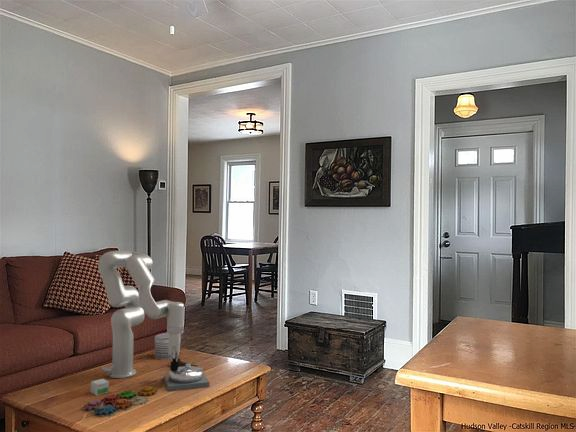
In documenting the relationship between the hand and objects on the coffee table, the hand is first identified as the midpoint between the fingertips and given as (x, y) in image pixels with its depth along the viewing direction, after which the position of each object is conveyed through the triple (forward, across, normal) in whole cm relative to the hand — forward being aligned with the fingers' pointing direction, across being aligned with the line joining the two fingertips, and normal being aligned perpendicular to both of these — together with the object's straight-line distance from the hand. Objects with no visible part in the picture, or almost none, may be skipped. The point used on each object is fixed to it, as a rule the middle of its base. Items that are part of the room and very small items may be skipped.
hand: (174, 368), depth 216 cm
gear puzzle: (+7, +21, -18) cm, 29 cm away
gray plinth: (+6, +1, +5) cm, 8 cm away
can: (+7, -44, -7) cm, 45 cm away
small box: (+7, +9, -31) cm, 33 cm away
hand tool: (+7, -20, +3) cm, 21 cm away
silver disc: (+4, +1, +5) cm, 7 cm away
